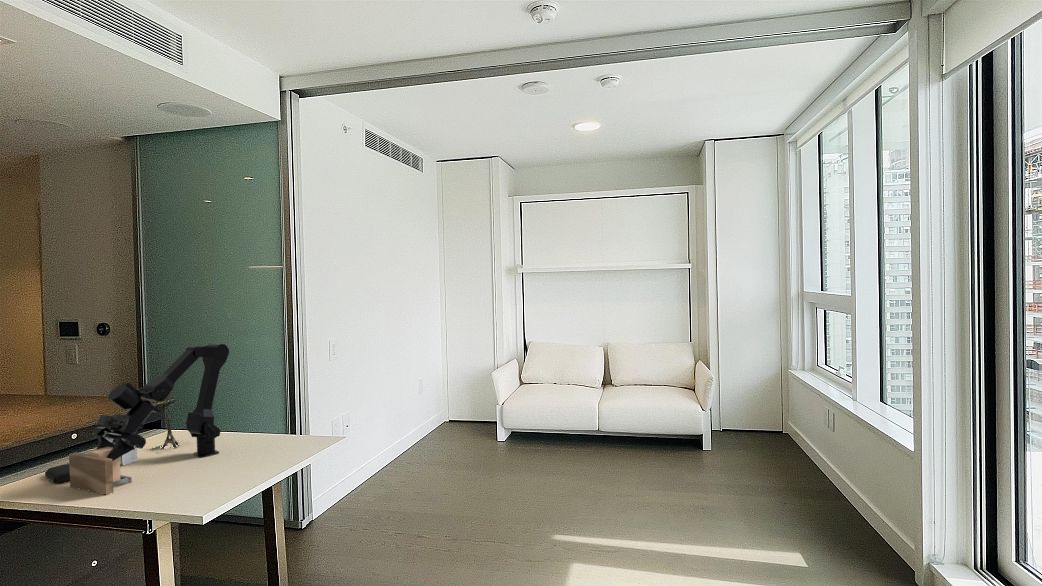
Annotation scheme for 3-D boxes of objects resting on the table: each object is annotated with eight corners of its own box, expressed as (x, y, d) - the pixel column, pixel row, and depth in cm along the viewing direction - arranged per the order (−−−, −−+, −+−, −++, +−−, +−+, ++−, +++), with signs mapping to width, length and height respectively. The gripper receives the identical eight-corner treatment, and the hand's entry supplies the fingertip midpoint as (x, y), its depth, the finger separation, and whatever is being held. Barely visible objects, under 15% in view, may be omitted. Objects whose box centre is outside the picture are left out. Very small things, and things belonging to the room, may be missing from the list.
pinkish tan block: (109, 478, 183) (107, 446, 183) (120, 480, 181) (119, 448, 180) (89, 484, 178) (88, 451, 178) (100, 486, 175) (99, 453, 175)
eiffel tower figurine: (180, 441, 229) (179, 407, 229) (197, 444, 225) (196, 409, 225) (141, 452, 216) (139, 416, 216) (158, 455, 212) (157, 418, 211)
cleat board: (105, 476, 188) (103, 445, 187) (140, 483, 180) (139, 451, 180) (70, 486, 179) (68, 454, 178) (106, 495, 171) (104, 460, 171)
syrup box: (138, 460, 204) (136, 419, 203) (122, 466, 198) (120, 423, 198) (126, 459, 205) (124, 418, 205) (109, 464, 200) (108, 422, 200)
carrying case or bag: (39, 478, 189) (52, 487, 180) (39, 468, 189) (52, 477, 180) (79, 469, 197) (94, 477, 188) (79, 459, 197) (93, 468, 188)
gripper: (97, 401, 186) (59, 445, 176) (134, 405, 178) (96, 452, 168) (124, 420, 193) (89, 463, 184) (161, 425, 185) (126, 471, 176)
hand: (99, 462), depth 178 cm, fingers closed on pinkish tan block, 6 cm apart
